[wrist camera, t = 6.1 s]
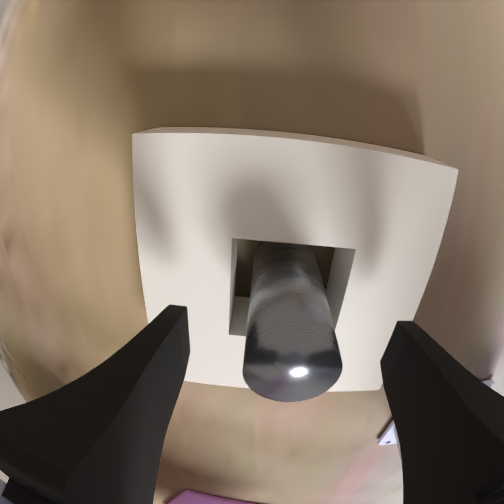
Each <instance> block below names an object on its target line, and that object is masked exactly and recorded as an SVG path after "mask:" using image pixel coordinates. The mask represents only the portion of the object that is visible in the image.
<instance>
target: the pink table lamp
mask: <svg viewBox="0 0 504 504" xmlns="http://www.w3.org/2000/svg"><path fill="white" fill-rule="evenodd" d="M167 504H257V503H250V502H244V501H238V500H232V499H227V498H222V497H217V496H213V495H208V494H204V493H200V492H196V491H192V490H188V489H185V490H184V491H183V492H182V493H180V494H179V495H178V496H176V497H175V498H174V499H172V500H171V501H170V502H168V503H167Z"/></svg>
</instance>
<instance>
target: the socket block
mask: <svg viewBox="0 0 504 504" xmlns="http://www.w3.org/2000/svg"><path fill="white" fill-rule="evenodd" d="M132 167H133V190H134V207H135V221H136V232H137V243H138V253H139V262H140V270H141V278H142V286H143V293H144V300H145V306H146V313H147V319H148V324H149V323H150V322H151V321H152V320H153V319H154V318H155V317H156V316H157V315H158V314H159V313H161V312H162V311H163V310H164V309H165V308H166V307H167V306H168V305H169V304H171V305H179V306H187V311H188V326H189V339H190V356H189V360H188V365H187V370H186V374H185V378H184V381H189V382H196V383H204V384H212V385H221V386H230V387H241V388H249V387H248V385H247V384H246V382H245V381H244V378H243V373H242V370H243V360H244V351H245V341H246V331H247V321H248V312H249V302H250V298H249V297H238V296H235V289H236V268H237V248H238V239H247V240H259V241H271V242H283V243H294V244H306V245H317V246H329V247H335V249H334V254H333V259H332V264H331V269H330V274H329V278H328V283H327V287H326V292H325V293H326V297H327V301H328V305H329V309H330V313H331V317H332V321H333V325H334V329H335V333H336V337H337V341H338V346H339V350H340V354H341V359H342V364H343V367H342V373H341V375H340V377H339V379H338V381H337V382H336V383H335V384H334V385H333V386H332V387H331V388H330V389H329V390H327V391H368V390H379V389H380V388H381V386H382V384H383V379H382V373H381V366H380V360H381V358H382V356H383V354H384V352H385V349H386V347H387V345H388V342H389V340H390V338H391V335H392V333H393V330H394V328H395V325H396V323H397V321H413V318H414V316H415V314H416V311H417V309H418V306H419V304H420V301H421V299H422V296H423V293H424V291H425V288H426V285H427V283H428V280H429V277H430V274H431V271H432V268H433V265H434V262H435V259H436V256H437V253H438V250H439V247H440V243H441V240H442V237H443V233H444V230H445V226H446V222H447V219H448V215H449V211H450V207H451V203H452V199H453V194H454V190H455V186H456V181H457V176H458V171H459V169H456V168H454V167H452V166H450V165H447V164H445V163H442V162H440V161H438V160H435V159H433V158H430V157H428V156H425V155H421V154H417V153H413V152H408V151H404V150H399V149H394V148H389V147H384V146H379V145H374V144H368V143H362V142H357V141H350V140H344V139H337V138H331V137H323V136H316V135H307V134H299V133H289V132H279V131H267V130H254V129H238V128H215V127H158V128H154V129H149V130H145V131H141V132H137V133H133V134H132Z"/></svg>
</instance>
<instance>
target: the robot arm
mask: <svg viewBox="0 0 504 504" xmlns="http://www.w3.org/2000/svg"><path fill="white" fill-rule="evenodd" d="M189 356H190V339H189V326H188V311H187V306H179V305H171V304H169V305H168V306H167V307H166V308H165V309H164V310H163V311H162V312H161V313H159V314H158V315H157V316H156V317H155V318H154V319H153V320H152V321H151V322H150V323H149V324H148V325H147V326H146V327H145V328H144V329H143V330H141V331H140V332H139V333H138V334H137V335H136V336H135V337H134V338H133V339H131V340H130V341H129V342H128V343H127V344H126V345H124V346H123V347H122V348H121V349H119V350H118V351H117V352H116V353H114V354H113V355H112V356H111V357H109V358H108V359H107V360H105V361H104V362H103V363H101V364H100V365H99V366H97V367H96V368H94V369H93V370H91V371H90V372H88V373H87V374H85V375H83V376H82V377H80V378H78V379H76V380H74V381H73V382H71V383H69V384H67V385H65V386H63V387H62V388H60V389H58V390H56V391H54V392H51V393H49V394H47V395H45V396H43V397H40V398H38V399H35V400H33V401H30V402H27V403H25V404H22V405H18V406H15V407H12V408H9V409H5V410H2V411H0V470H1V471H2V472H3V473H5V474H6V475H7V476H8V477H9V480H8V482H7V484H6V483H5V482H4V481H2V480H1V479H0V504H153V498H154V491H155V484H156V478H157V473H158V467H159V462H160V457H161V452H162V447H163V442H164V438H165V434H166V431H167V427H168V424H169V421H170V419H171V416H172V413H173V410H174V407H175V404H176V401H177V398H178V395H179V393H180V390H181V387H182V384H183V381H184V378H185V374H186V370H187V365H188V360H189ZM380 366H381V373H382V379H383V385H384V389H385V392H386V396H387V399H388V403H389V406H390V410H391V413H392V417H393V421H392V422H391V423H390V425H389V426H388V428H387V429H386V430H385V432H384V433H383V434H382V436H381V437H380V438H379V440H378V441H377V442H378V445H388V444H395V443H397V446H398V450H399V454H400V458H401V463H402V469H403V504H504V397H503V396H502V395H500V394H499V393H497V392H495V391H494V390H493V389H491V388H492V386H493V385H494V381H493V380H492V379H491V380H486V381H480V380H479V379H478V378H476V377H475V376H474V375H473V374H471V373H470V372H469V371H468V370H467V369H466V368H464V367H463V366H462V365H461V364H460V363H459V362H457V361H456V360H455V359H454V358H453V357H452V356H451V355H450V354H449V353H448V352H446V351H445V350H444V349H443V348H442V347H441V346H440V345H439V344H438V343H437V342H436V341H435V340H434V339H432V338H431V337H430V336H429V335H428V334H427V333H426V332H425V331H424V330H423V329H421V328H420V327H419V326H418V325H417V324H415V323H414V322H413V321H397V323H396V325H395V328H394V330H393V333H392V335H391V338H390V340H389V342H388V345H387V347H386V349H385V352H384V354H383V356H382V358H381V360H380Z"/></svg>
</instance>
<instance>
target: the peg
mask: <svg viewBox="0 0 504 504" xmlns="http://www.w3.org/2000/svg"><path fill="white" fill-rule="evenodd" d="M342 367H343V364H342V359H341V354H340V350H339V346H338V341H337V337H336V333H335V329H334V325H333V321H332V317H331V313H330V309H329V305H328V301H327V297H326V293H325V289H324V286H323V282H322V278H321V274H320V271H319V267H318V263H317V260H316V256H315V253H314V250H313V248H312V247H311V245H306V244H294V243H283V242H271V241H263V242H262V243H261V244H260V245H259V247H258V248H257V250H256V252H255V255H254V262H253V272H252V282H251V292H250V302H249V312H248V321H247V331H246V341H245V351H244V360H243V370H242V373H243V378H244V381H245V382H246V384H247V385H248V387H249V388H250V389H251V390H252V391H254V392H255V393H257V394H258V395H260V396H262V397H265V398H268V399H271V400H275V401H282V402H295V401H302V400H307V399H311V398H313V397H316V396H318V395H321V394H322V393H324V392H326V391H327V390H329V389H330V388H331V387H332V386H333V385H334V384H335V383H336V382H337V381H338V379H339V377H340V375H341V373H342Z"/></svg>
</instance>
